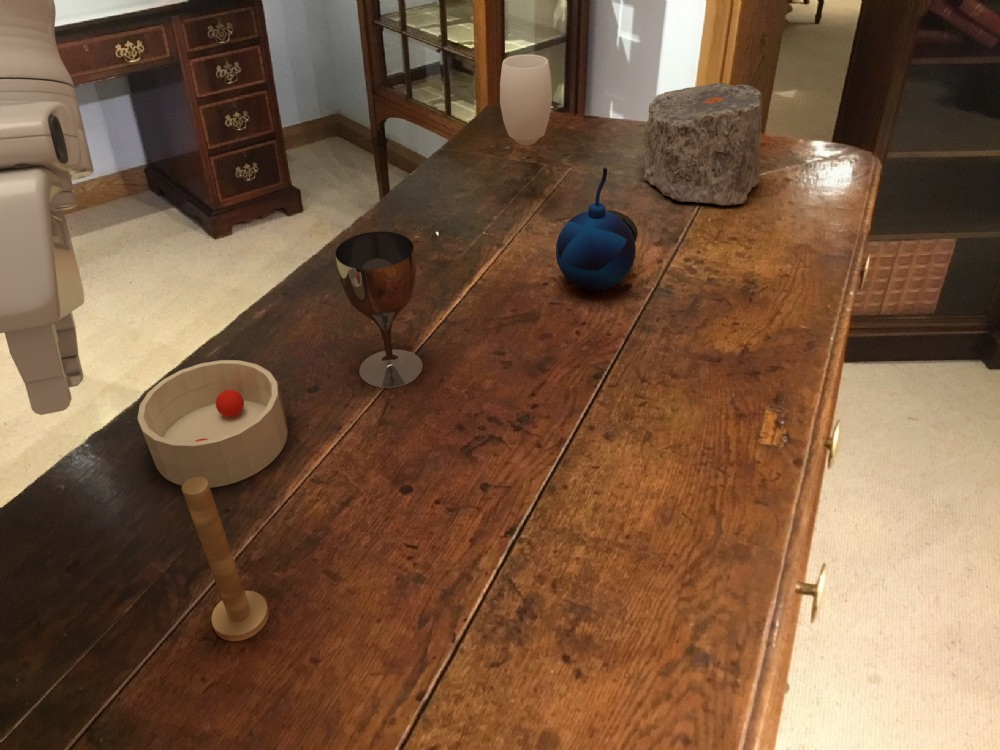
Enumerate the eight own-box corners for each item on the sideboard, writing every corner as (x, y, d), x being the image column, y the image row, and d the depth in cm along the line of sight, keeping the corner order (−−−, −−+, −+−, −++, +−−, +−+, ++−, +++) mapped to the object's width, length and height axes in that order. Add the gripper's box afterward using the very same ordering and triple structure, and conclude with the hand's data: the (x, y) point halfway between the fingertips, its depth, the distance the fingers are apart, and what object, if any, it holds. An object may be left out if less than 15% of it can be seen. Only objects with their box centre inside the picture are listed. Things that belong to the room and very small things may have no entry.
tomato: (215, 422, 88) (208, 400, 86) (224, 404, 90) (218, 384, 88) (241, 422, 88) (235, 401, 86) (250, 405, 90) (244, 384, 88)
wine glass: (435, 379, 93) (423, 259, 84) (365, 397, 91) (345, 276, 82) (414, 341, 99) (401, 225, 90) (347, 358, 97) (327, 240, 88)
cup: (493, 204, 127) (487, 63, 115) (525, 187, 132) (522, 50, 119) (530, 217, 123) (528, 73, 111) (561, 200, 128) (563, 59, 115)
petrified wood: (637, 159, 139) (643, 65, 130) (745, 157, 138) (758, 63, 129) (648, 211, 124) (656, 109, 115) (769, 209, 123) (786, 106, 114)
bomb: (650, 273, 110) (659, 163, 101) (610, 313, 103) (616, 198, 94) (583, 255, 114) (586, 148, 105) (541, 291, 107) (540, 180, 98)
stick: (205, 640, 67) (151, 506, 58) (224, 595, 71) (176, 462, 62) (259, 643, 67) (214, 509, 58) (275, 597, 70) (235, 464, 61)
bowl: (131, 486, 82) (114, 443, 78) (183, 399, 92) (169, 358, 89) (265, 490, 80) (253, 447, 77) (302, 402, 91) (293, 361, 88)
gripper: (-31, 176, 55) (24, 385, 57) (-122, 132, 36) (-34, 445, 39) (76, 164, 57) (124, 365, 60) (43, 117, 38) (115, 413, 41)
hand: (62, 397), depth 49 cm, fingers open, 8 cm apart
